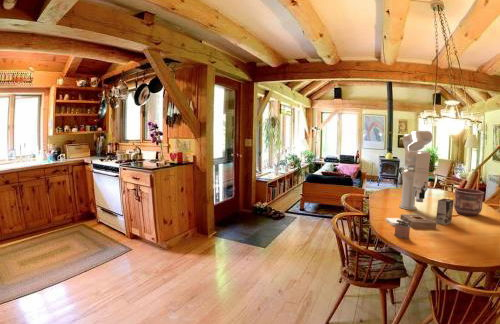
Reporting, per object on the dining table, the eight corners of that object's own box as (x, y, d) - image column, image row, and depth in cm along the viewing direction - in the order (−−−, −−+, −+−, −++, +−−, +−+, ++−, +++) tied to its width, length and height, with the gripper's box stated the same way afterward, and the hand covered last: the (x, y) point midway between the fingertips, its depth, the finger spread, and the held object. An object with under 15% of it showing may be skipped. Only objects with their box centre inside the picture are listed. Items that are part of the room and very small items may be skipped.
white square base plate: (385, 220, 191) (385, 217, 191) (398, 221, 190) (398, 218, 190) (391, 225, 181) (392, 222, 181) (405, 226, 180) (406, 223, 180)
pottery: (487, 218, 197) (490, 193, 195) (460, 216, 201) (462, 192, 199) (473, 211, 215) (475, 188, 213) (448, 209, 218) (450, 187, 216)
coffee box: (446, 225, 182) (448, 202, 180) (435, 222, 187) (437, 199, 185) (451, 222, 187) (454, 200, 185) (441, 220, 192) (443, 198, 190)
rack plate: (400, 219, 193) (400, 213, 193) (422, 220, 192) (422, 214, 191) (412, 227, 177) (412, 221, 177) (436, 228, 176) (436, 222, 176)
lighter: (410, 238, 161) (411, 221, 159) (408, 239, 158) (409, 223, 157) (395, 234, 166) (396, 218, 165) (393, 235, 164) (394, 219, 163)
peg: (414, 200, 185) (415, 186, 183) (420, 200, 184) (421, 186, 183) (417, 202, 181) (419, 187, 179) (424, 202, 180) (425, 187, 179)
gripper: (409, 168, 189) (407, 194, 191) (423, 172, 172) (420, 200, 174) (420, 169, 188) (418, 194, 190) (435, 172, 171) (433, 201, 174)
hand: (419, 197), depth 182 cm, fingers closed on peg, 4 cm apart
